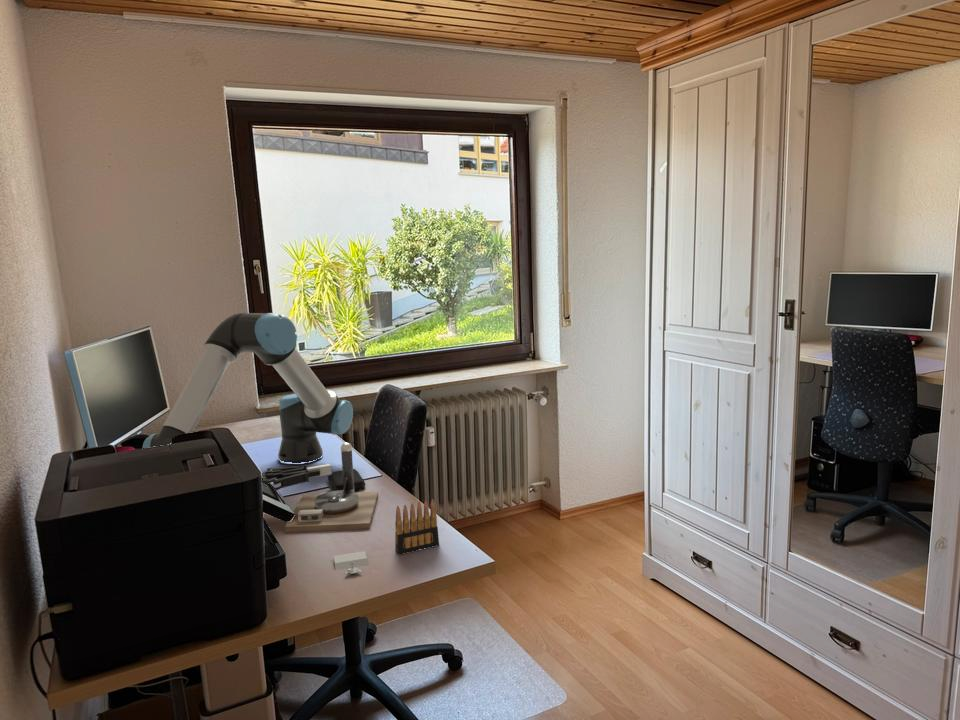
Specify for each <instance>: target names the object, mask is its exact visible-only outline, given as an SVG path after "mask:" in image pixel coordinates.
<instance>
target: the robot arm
mask: <svg viewBox="0 0 960 720" xmlns="http://www.w3.org/2000/svg"><path fill="white" fill-rule="evenodd" d="M296 332H297V328H296V326H295V323H293V321H292V320H291V319H290V318H289V317H288V316H285V315H284V314H279V313H275V312H267V313H266V312H265V313H263V312H261V313H260V312H258V313H257V312H256V313H255V312H252V313H251V312H239V313H235V314H232V315H230V316H228V317H227V318H225V319H224V320H223V321H221V322H220V323H219V324H218V325H217V326H216V327H215V328H214V330H213V331H212V332H211V333H210V335H209V337H208V338H207V339H206V341H205V343H204V344H203V348H202V349H203V350H204V351H203V354H202V355H201V357H200V359H199V361H198V363H197V364H196V366H195V368H194V370H193V372H192V373H191V376H190V377H189V379H188V381H187V383H186V384H185V386H184V388H183V389H182V391H181V392H180V393H181V394H180V395H179V397H177V398H178V399H176V400H177V401H176V402H175V404H174V405H173V407H172V408H171V410H170V412H169V414H168V416H167V418H166V420H165V422H164V423H163V425H162V427H161V429H160V430H159V433H153V434H151V435H149V436H148V437H146V439H144V441H143V444H142V449H143V448H148V447H153V446H160V445H167V444H170V443H171V442H172V439H173V438H175V436H178V435H181V434H187V433H193V432H198V431H199V430H196V431H194V430H195V428H196V426H197V424H198V423H199V421H200V418H201V417H202V416H203V413H204V411H205V409H206V408H207V405H208V404H209V402H210V400H211V398H212V396H213V395H214V393H215V391H216V389H217V388H218V385H219V383H220V382H221V380H222V378H223V376H224V374H225V372H226V370H227V368H228V367H229V365H230V364H232V363H235V361H236V359H237V358H238V356H239V355H240V354H242V353H253V354H255V355H256V357H258V358H259V360H260V361H261V362H262V363H263V364H264V365H267V366H272V367H273V368H274V369H275V371H276V372H277V373H278V374H279V376H280V377H281V379H283V380H284V382H285V383H286V384H287V386H288V387H289V388H290V389H291V390H292V391H293V393H292V394H289V395H288V394H287V395H285V396H282V397H281V398H280V399H279V403H278V405H279V409H278V411H279V419H280V420H279V421H280V431H281V442H280V446H279V449H278V454H277V455H278V456H277V457H278V458H279V459H280V460H281V461H284V462H292V463H301V462H309V461H313V460H316V459H318V458H320V457H321V456H322V455H323V454H324V453H323V448H322V446H321V444H320V441H319V438H318V436H317V433H318V434H319V433H321V434H328V435H329V434H330V435H333V436H334V435H343V434H345V433H346V432H347V431H348V430H349V429H350V427H351V425H352V423H353V419H354V416H353V415H354V409H353V404H352V403H351V401H349V400H346V399H340V398H339V396H338V395H337V394H336V393H335V392H334V391H333V390H331V389H330V388H328V389H326V387H325V386H324V384H323V383H322V382H321V381H320V379H319V378H318V377H317V375H316V374H315V372H314V371H313V370H312V369H311V366H309V365H308V363H307V361H305V359H304V358H303V356H302V355H301V354H300V352H299V351H298V350H297V348H296V347H297V340H298V335H297V334H296ZM323 456H324V455H323ZM331 472H332V465H331V464H330V463H326V464H322V465H321V464H320V465H315V466H307V464H303V465H293V466H284V467H268V468H267V469H266V471H263V472H261V473H262V477H263V483H268V484H269V483H270V484H271V485H272V486H273V487H274V488H275V489H276V490H275V491H278V490H281V489H283V488H288V487H291V486H295V485H300V484H302V483H309V482H310V479H312V478H318V477H324V476H329V475H331V474H332V473H331ZM274 488H273V489H274Z"/></svg>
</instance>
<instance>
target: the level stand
mask: <svg viewBox="0 0 960 720" xmlns="http://www.w3.org/2000/svg"><path fill="white" fill-rule="evenodd" d="M355 493H356V494H357V495H358V502H359V504H358V506H357V507H356V508H354V509H352V510H350V511H347V512H343V513H338V514H325V513H323V509H319V510H315V504H314V500H315V498H316V497H317V496H319V495H321V494H322V493H320V494H319V493H317V494H315V493H314V494H302V496H301V497H300V499H299V501H298V502H297V504H296V506H295V508H294V510H293V511H294V513H295V516H294V518H293V520H292V521H291V522H288V521H287V522H286V524H285V525H284V533H300V532H301V533H302V532H320V531H321V532H323V531H340V530H347V531H348V530H362V529H366V530H367V529H368V530H369V529H371V526H372V522H373V519H374V514H375V510H376V507H377V504H378V503H377V502H378V498H379V491H365V492H364V491H361V492H355Z"/></svg>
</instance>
